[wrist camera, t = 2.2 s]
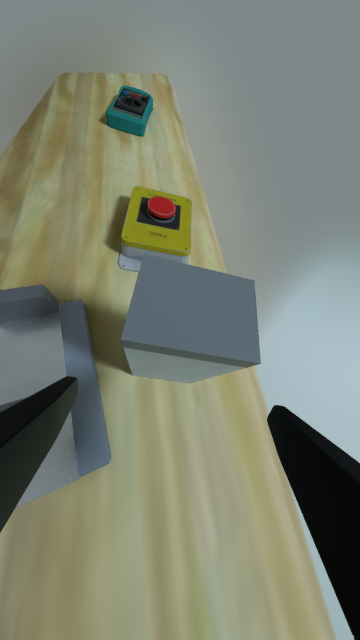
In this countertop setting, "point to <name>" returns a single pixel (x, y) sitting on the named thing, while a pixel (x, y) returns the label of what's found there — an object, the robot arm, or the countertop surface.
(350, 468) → the robot arm
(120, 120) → the digital multimeter
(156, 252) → the emergency button
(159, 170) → the countertop surface
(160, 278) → the block
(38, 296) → the end clamps
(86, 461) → the rail board
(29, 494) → the steel rail
